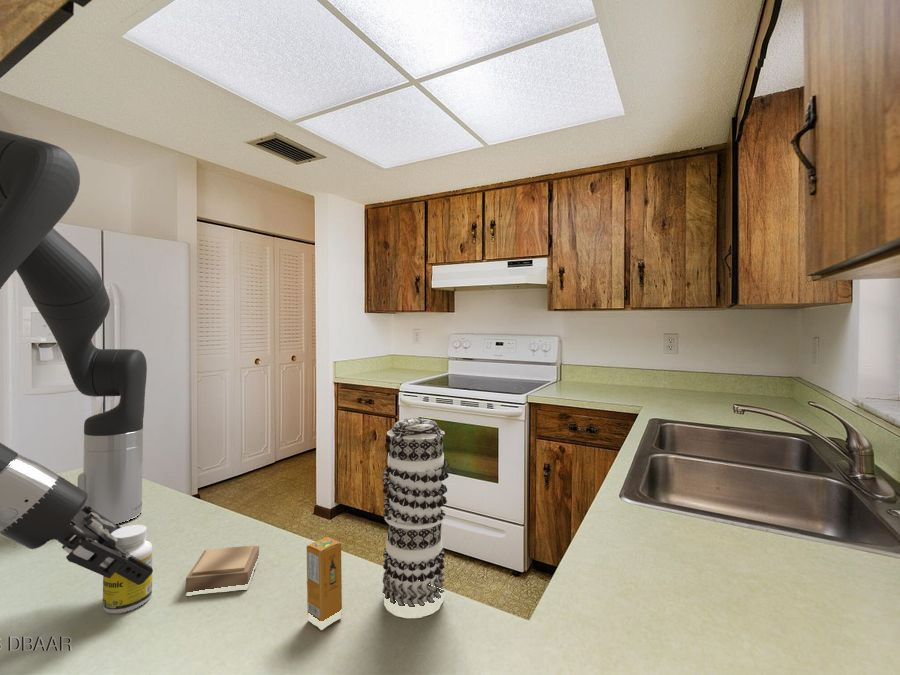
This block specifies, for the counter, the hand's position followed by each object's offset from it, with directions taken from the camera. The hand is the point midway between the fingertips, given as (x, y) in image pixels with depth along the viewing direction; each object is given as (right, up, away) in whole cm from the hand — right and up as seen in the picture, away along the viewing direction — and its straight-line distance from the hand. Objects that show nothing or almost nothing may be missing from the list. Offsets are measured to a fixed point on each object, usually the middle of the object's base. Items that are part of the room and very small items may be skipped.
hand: (144, 567), depth 60 cm
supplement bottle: (-1, -4, -1) cm, 5 cm away
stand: (+8, -4, +5) cm, 11 cm away
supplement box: (+26, -5, -4) cm, 27 cm away
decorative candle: (+37, -5, +1) cm, 38 cm away
